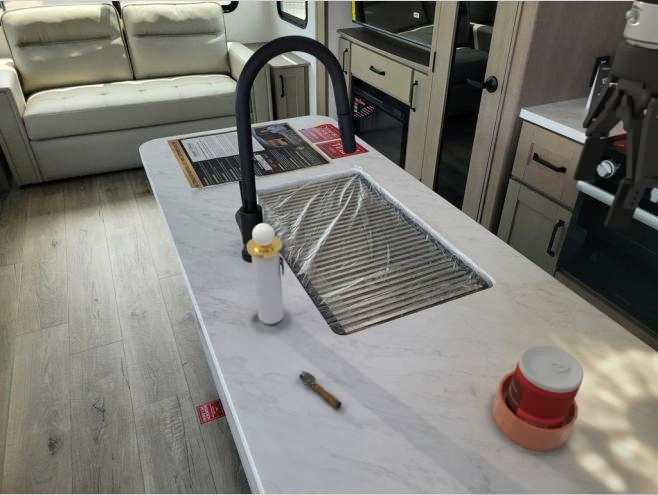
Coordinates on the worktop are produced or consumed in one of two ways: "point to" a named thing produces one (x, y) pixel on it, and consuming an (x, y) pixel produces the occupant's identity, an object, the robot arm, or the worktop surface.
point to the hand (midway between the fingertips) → (597, 201)
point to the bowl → (526, 432)
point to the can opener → (319, 389)
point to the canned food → (544, 386)
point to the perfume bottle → (267, 272)
